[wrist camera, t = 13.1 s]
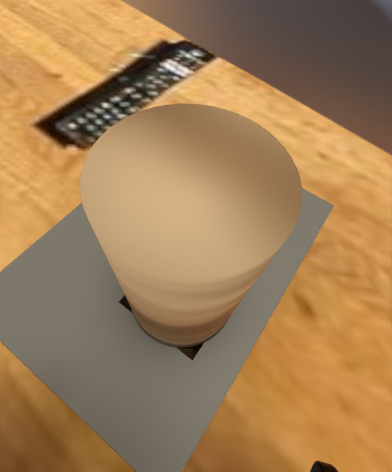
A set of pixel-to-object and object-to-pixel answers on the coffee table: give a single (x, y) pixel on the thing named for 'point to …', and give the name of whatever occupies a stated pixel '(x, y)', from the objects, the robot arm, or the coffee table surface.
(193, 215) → the peg
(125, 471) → the coffee table surface
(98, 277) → the board
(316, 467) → the robot arm
